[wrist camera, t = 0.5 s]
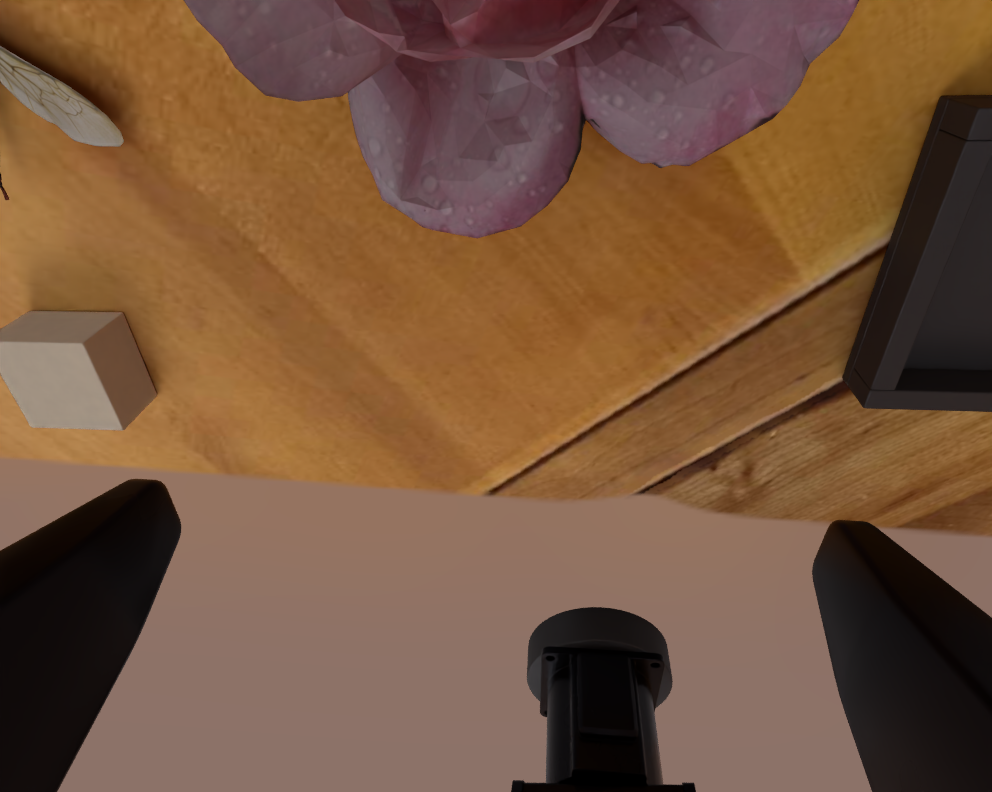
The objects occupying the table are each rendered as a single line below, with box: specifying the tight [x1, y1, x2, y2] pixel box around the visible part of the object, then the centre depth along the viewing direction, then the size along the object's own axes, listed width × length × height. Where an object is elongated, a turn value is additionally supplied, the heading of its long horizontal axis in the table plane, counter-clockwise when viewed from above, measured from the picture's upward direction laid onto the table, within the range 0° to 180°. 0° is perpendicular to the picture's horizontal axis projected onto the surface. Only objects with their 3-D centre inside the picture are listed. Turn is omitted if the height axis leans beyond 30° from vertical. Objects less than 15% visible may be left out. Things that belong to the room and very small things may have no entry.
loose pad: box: [0, 311, 157, 430], centre depth 24 cm, size 4×4×2 cm
